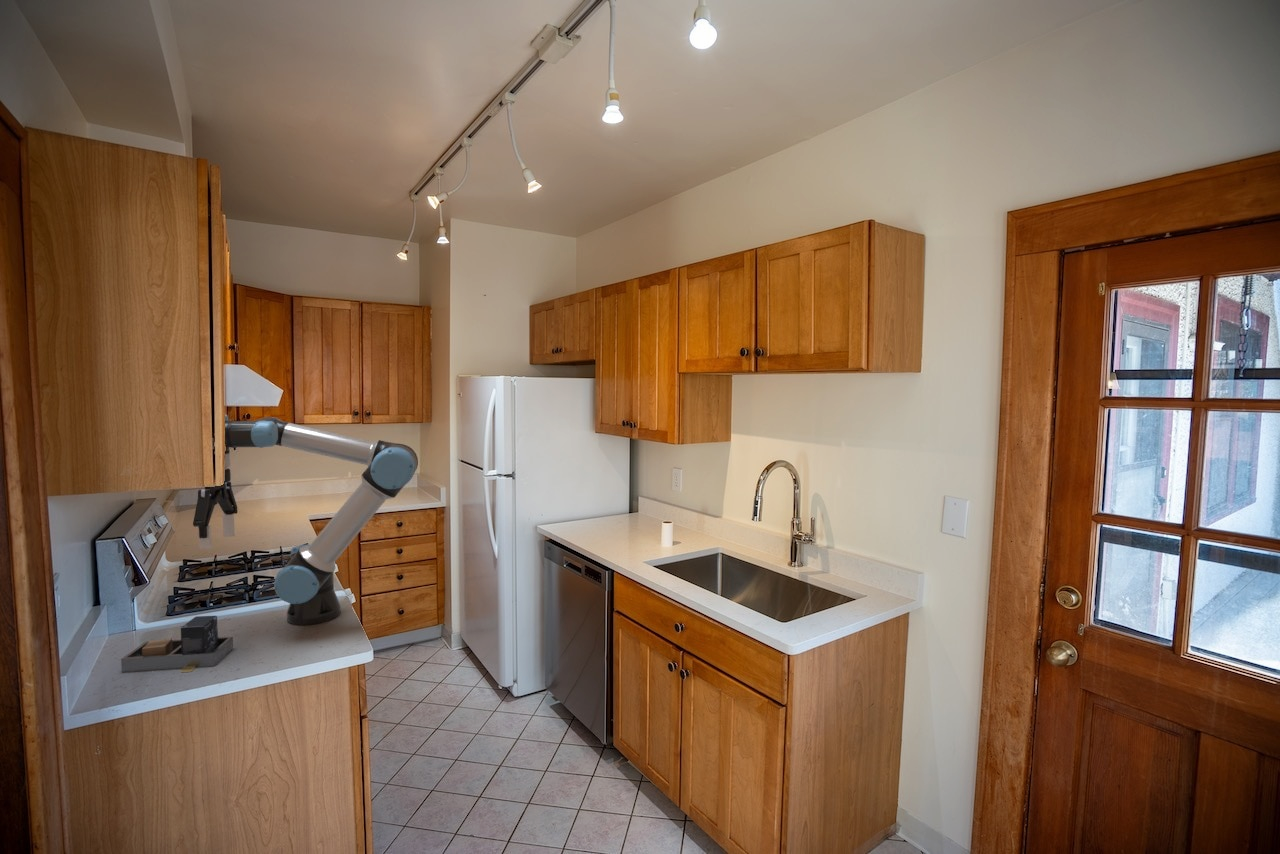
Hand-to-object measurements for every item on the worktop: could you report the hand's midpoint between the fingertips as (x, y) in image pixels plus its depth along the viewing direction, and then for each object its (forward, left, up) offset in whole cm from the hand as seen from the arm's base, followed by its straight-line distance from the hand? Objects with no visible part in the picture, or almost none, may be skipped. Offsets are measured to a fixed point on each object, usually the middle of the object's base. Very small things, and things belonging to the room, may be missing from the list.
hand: (217, 542), depth 176 cm
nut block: (+12, -10, -29) cm, 33 cm away
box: (+12, 0, -29) cm, 31 cm away
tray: (+13, -5, -29) cm, 32 cm away
